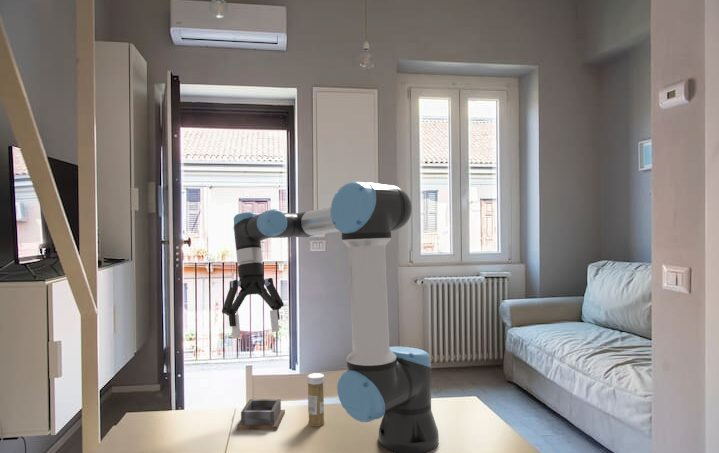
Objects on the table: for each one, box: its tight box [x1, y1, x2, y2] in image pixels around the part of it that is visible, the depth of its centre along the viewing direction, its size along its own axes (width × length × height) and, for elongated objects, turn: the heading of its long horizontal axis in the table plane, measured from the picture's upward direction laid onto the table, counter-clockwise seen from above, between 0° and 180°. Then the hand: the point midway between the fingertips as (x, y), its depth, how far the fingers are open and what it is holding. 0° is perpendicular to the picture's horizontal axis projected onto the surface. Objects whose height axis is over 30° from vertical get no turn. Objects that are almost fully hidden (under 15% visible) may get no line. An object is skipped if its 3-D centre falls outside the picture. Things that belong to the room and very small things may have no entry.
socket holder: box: [235, 398, 286, 431], centre depth 125 cm, size 11×11×4 cm
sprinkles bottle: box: [307, 372, 325, 428], centre depth 123 cm, size 5×5×14 cm
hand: (256, 334), depth 132 cm, fingers open, 13 cm apart
